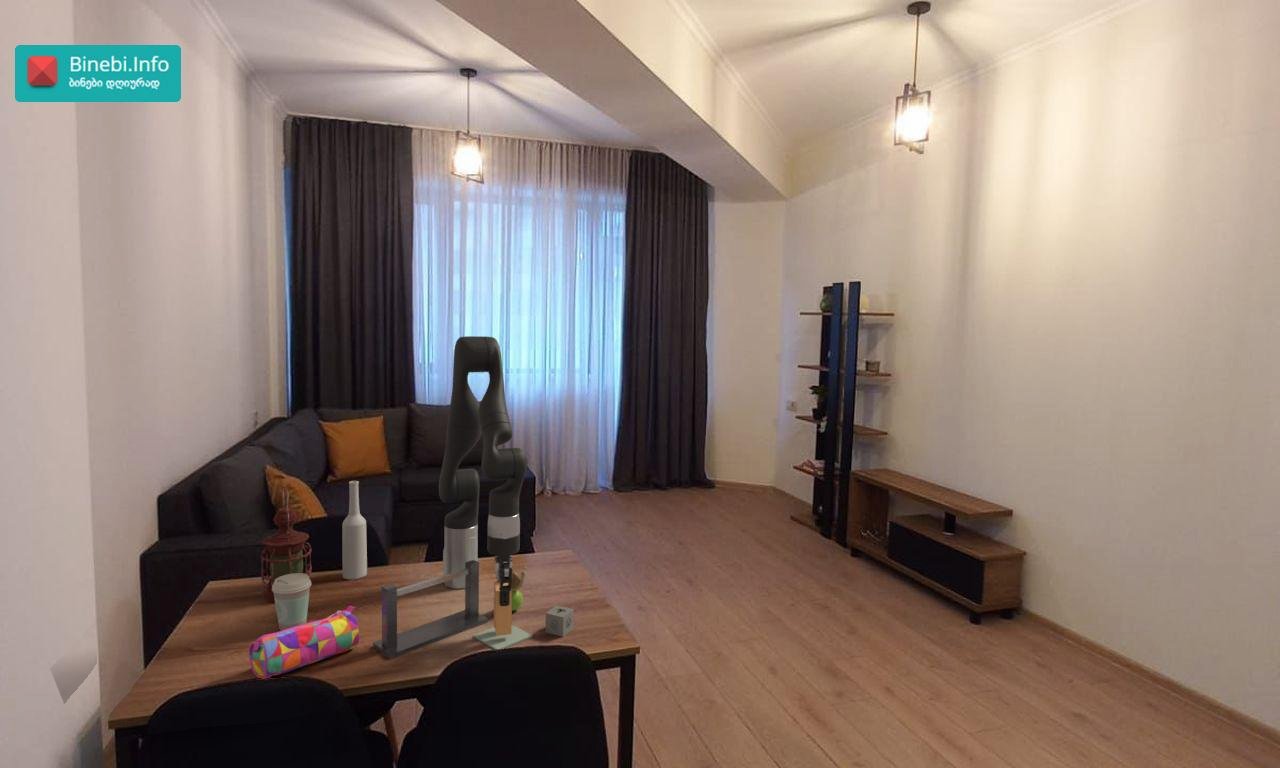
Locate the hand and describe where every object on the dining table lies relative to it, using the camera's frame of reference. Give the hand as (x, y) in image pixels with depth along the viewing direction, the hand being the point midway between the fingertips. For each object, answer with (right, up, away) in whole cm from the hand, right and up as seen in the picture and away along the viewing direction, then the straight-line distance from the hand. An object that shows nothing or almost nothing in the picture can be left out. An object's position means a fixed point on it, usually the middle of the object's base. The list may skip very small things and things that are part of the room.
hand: (503, 599), depth 158 cm
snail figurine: (0, -8, +16) cm, 18 cm away
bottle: (-51, -5, +35) cm, 62 cm away
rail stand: (-17, -9, +1) cm, 19 cm away
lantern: (-63, -6, +21) cm, 66 cm away
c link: (0, -7, +1) cm, 7 cm away
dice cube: (+13, -9, +5) cm, 17 cm away
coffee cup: (-52, -8, +3) cm, 53 cm away
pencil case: (-41, -10, -13) cm, 44 cm away
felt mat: (0, -9, +1) cm, 9 cm away
